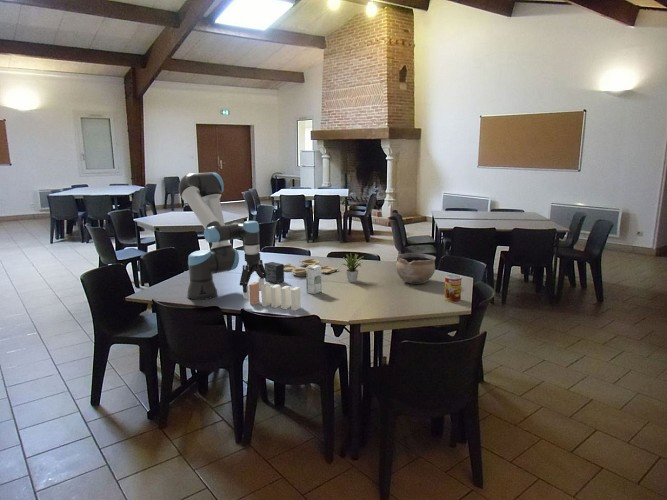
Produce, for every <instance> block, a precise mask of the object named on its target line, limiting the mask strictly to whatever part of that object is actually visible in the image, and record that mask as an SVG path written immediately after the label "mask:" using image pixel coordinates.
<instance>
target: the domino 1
mask: <svg viewBox="0 0 667 500" xmlns="http://www.w3.org/2000/svg"><path fill="white" fill-rule="evenodd" d="M248 286H249V305H256V304H258V303H259V302H260V291H259V281H254V282H252V283H248Z"/></svg>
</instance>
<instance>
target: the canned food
mask: <svg viewBox="0 0 667 500" xmlns="http://www.w3.org/2000/svg"><path fill="white" fill-rule="evenodd" d="M462 280H463V279H462V276H461V275H457V274H447V275H445V276H444V299H445V300H446V302H447V301H448V303H452V302H456V303H460V302H461V299H462ZM445 300H444V301H445ZM459 301H460V302H459Z"/></svg>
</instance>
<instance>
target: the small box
mask: <svg viewBox="0 0 667 500" xmlns="http://www.w3.org/2000/svg"><path fill="white" fill-rule="evenodd" d="M284 265H285V264H284V263H279V262H274V261H269V262H265V263H263V266H264V269H265V272H266V274H267V275H266V278H264V282H267V283H270V284H271V283H272V284H274V285H278V284H280V283H284V282H285V271H284Z"/></svg>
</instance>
